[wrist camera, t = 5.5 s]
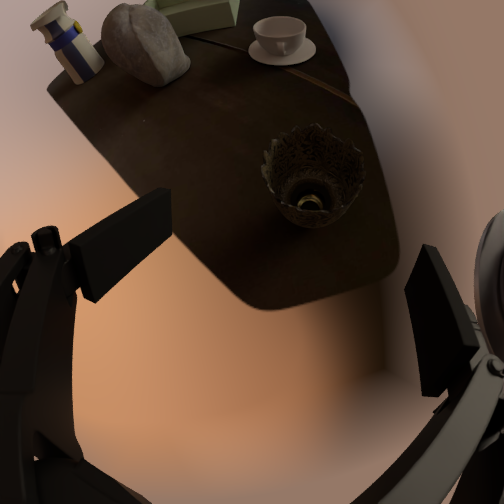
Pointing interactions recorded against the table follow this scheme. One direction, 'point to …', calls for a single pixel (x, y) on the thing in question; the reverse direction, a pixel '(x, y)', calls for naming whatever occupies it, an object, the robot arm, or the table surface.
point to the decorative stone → (144, 44)
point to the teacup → (281, 41)
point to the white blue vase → (68, 43)
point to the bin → (197, 14)
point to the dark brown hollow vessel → (312, 175)
